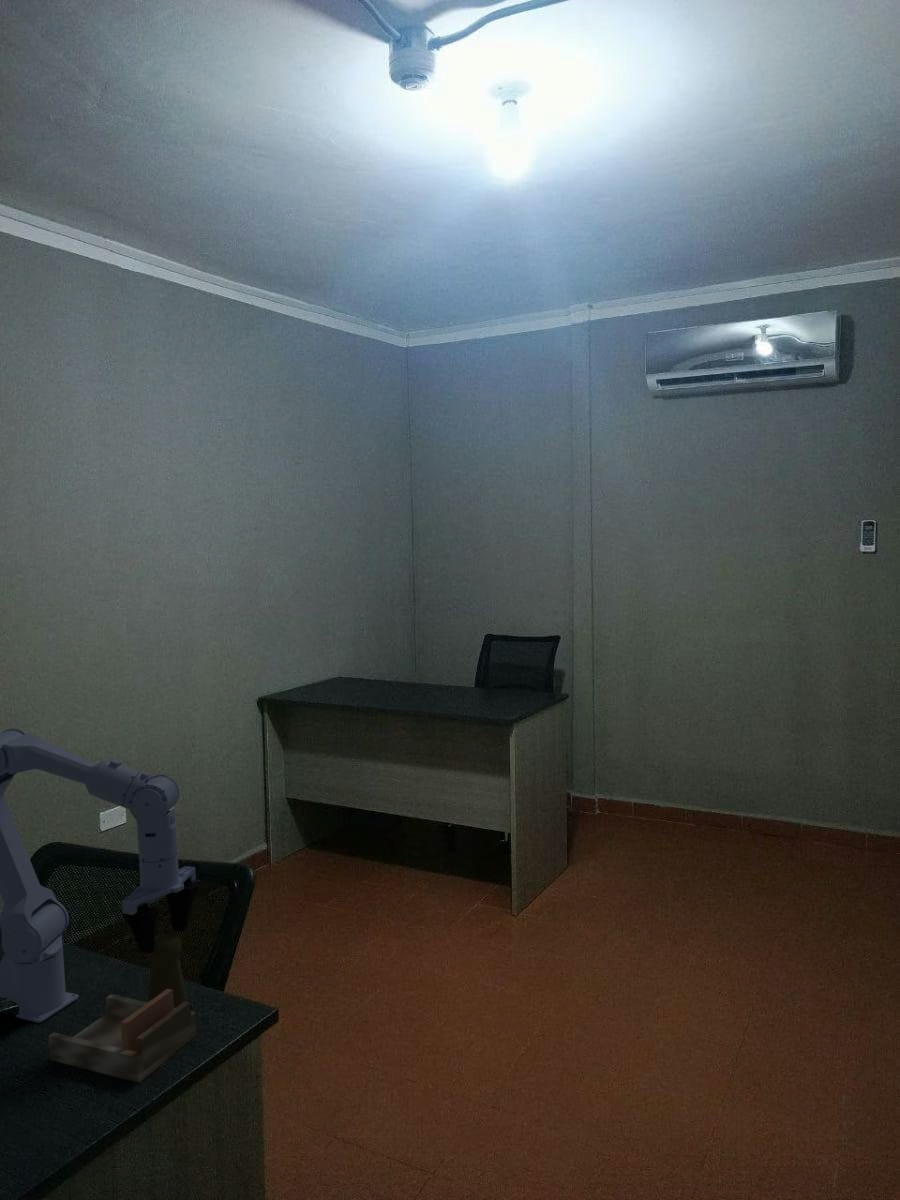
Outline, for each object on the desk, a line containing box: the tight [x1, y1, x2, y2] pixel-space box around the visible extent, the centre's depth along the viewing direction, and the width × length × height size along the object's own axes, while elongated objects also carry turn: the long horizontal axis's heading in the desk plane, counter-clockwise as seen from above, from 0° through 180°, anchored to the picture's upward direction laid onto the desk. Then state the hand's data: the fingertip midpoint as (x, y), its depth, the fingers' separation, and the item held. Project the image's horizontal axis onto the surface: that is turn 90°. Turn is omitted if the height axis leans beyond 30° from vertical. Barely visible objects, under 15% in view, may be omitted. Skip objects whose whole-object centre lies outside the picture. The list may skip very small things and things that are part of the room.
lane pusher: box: [121, 989, 174, 1052], centre depth 125 cm, size 1×9×6 cm, turn 158°
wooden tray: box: [48, 993, 198, 1083], centre depth 126 cm, size 16×12×6 cm
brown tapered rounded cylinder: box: [146, 933, 188, 1008], centre depth 138 cm, size 6×6×11 cm
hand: (163, 940), depth 137 cm, fingers open, 7 cm apart
